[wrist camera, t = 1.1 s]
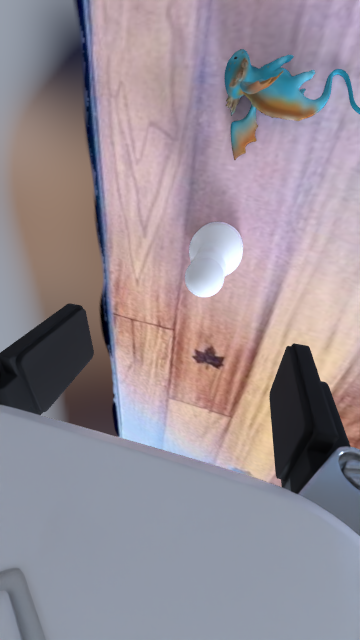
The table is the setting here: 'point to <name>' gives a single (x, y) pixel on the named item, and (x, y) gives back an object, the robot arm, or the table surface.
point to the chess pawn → (212, 257)
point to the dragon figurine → (271, 95)
